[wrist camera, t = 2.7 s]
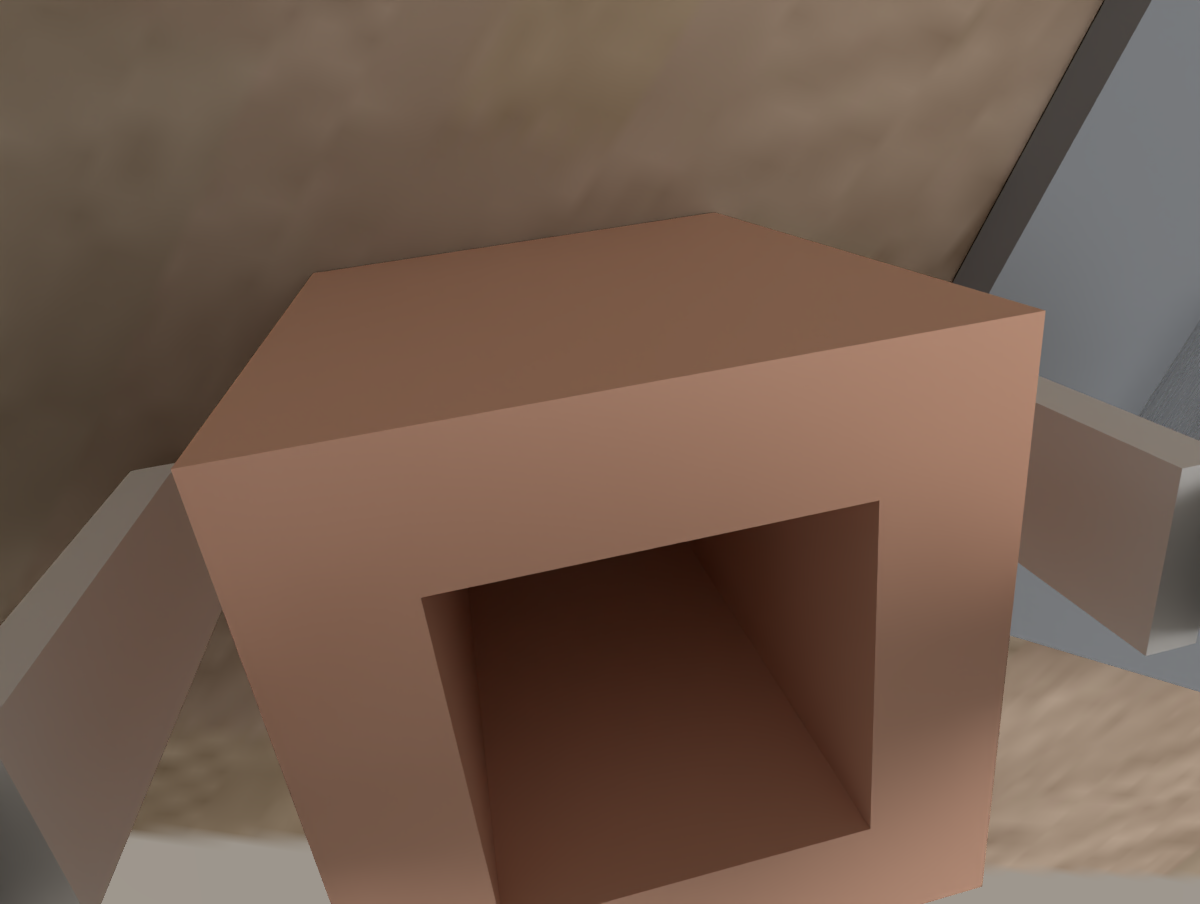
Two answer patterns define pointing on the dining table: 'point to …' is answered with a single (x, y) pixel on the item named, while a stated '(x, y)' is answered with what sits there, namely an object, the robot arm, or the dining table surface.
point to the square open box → (628, 567)
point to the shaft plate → (1106, 255)
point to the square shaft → (1179, 392)
